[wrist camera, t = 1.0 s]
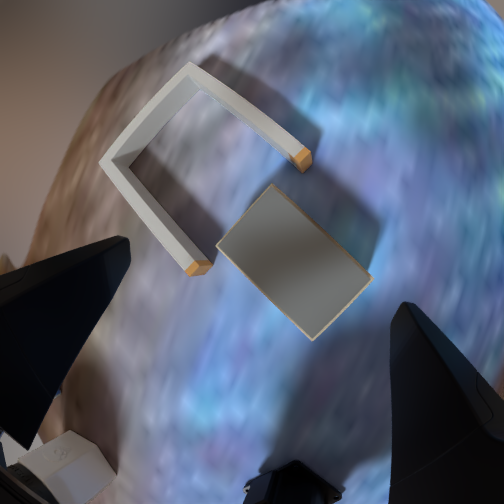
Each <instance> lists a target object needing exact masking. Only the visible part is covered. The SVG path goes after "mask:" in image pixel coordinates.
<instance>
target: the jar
mask: <svg viewBox="0 0 504 504" xmlns="http://www.w3.org/2000/svg"><path fill="white" fill-rule="evenodd" d="M7 470H8V472H9V473H10V474H11V475H12V476H13V477H15V478H16V479H17V480H18V481H20V482H21V483H22V484H24V485H25V486H26V487H27V488H29V489H30V490H31V491H33V492H34V493H36V494H37V495H38V496H40V497H41V498H43V499H44V500H46V501H47V502H48V503H50V504H89V503H90V502H91V501H92V500H94V499H95V498H96V497H97V496H98V495H99V494H101V493H102V492H103V491H104V490H105V489H106V488H107V487H108V486H109V485H110V484H111V482H112V481H113V480H114V479H115V477H116V473H115V472H114V471H113V469H112V468H111V466H110V465H109V463H108V462H107V460H106V459H105V457H104V456H103V454H102V452H101V451H100V449H99V448H98V446H97V445H96V444H94V443H92V442H90V441H89V440H87V439H85V438H83V437H82V436H80V435H78V434H76V433H75V432H73V431H71V430H69V431H67V432H65V433H63V434H62V435H60V436H58V437H56V438H55V439H53V440H51V441H49V442H48V443H46V444H44V445H42V446H40V447H39V448H37V449H35V450H33V451H31V452H29V453H27V454H26V455H24V456H22V457H20V458H18V463H16V464H14V465H10V466H8V467H7Z"/></svg>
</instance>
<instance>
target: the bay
mask: <svg viewBox="0 0 504 504" xmlns="http://www.w3.org/2000/svg"><path fill="white" fill-rule="evenodd" d="M199 90H202V91H203V92H204V93H206V94H207V95H208V96H210V97H211V98H212V99H214V100H215V101H216V102H218V103H219V104H220V105H222V106H223V107H224V108H225V109H227V110H228V111H229V112H231V113H232V114H233V115H234V116H236V117H237V118H238V119H239V120H241V121H242V122H243V123H244V124H246V125H247V126H248V127H249V128H250V129H252V130H253V131H254V132H255V133H257V134H258V135H259V136H260V137H261V138H263V139H264V140H265V141H266V142H267V143H269V144H270V145H271V146H272V147H273V148H274V149H276V150H277V151H278V152H279V153H280V154H281V155H282V156H284V157H285V158H286V159H287V160H288V161H289V162H290V163H292V164H293V165H294V166H295V167H296V168H297V169H298V170H299V171H300V172H302V173H304V172H305V171H306V170H307V169H308V168H309V167H310V166H311V165H312V164H313V163H312V157H311V151H309V150H308V149H307V148H306V147H305V146H304V145H302V144H301V143H300V142H299V141H298V140H296V139H295V138H294V137H293V136H292V135H290V134H289V133H288V132H287V131H286V130H284V129H283V128H282V127H281V126H279V125H278V124H277V123H276V122H274V121H273V120H272V119H271V118H269V117H268V116H267V115H265V114H264V113H263V112H261V111H260V110H259V109H258V108H256V107H255V106H254V105H252V104H251V103H250V102H248V101H247V100H246V99H244V98H243V97H241V96H240V95H239V94H237V93H236V92H235V91H233V90H232V89H230V88H229V87H227V86H226V85H225V84H223V83H222V82H220V81H219V80H217V79H216V78H214V77H213V76H211V75H210V74H208V73H207V72H205V71H204V70H202V69H201V68H199V67H198V66H196V65H195V64H193V63H192V62H190V61H189V62H188V63H187V64H186V65H185V66H184V67H183V68H182V69H181V70H180V71H179V72H178V73H177V74H175V75H174V76H173V77H172V78H171V79H170V80H169V81H168V82H167V83H166V84H165V85H164V86H163V87H162V88H161V90H160V91H159V92H158V93H157V94H156V95H155V96H154V97H153V98H152V99H151V100H150V101H149V102H148V103H147V104H146V106H145V107H144V108H143V109H142V110H141V111H140V112H139V113H138V114H137V116H136V117H135V118H134V119H133V120H132V121H131V123H130V124H129V125H128V126H127V127H126V128H125V130H124V131H123V132H122V133H121V134H120V136H119V137H118V138H117V139H116V141H115V142H114V143H113V144H112V146H111V147H110V148H109V150H108V151H107V152H106V153H105V155H104V156H103V157H102V159H101V160H100V161H99V164H100V166H101V167H102V168H103V170H104V171H105V172H106V174H107V175H108V176H109V178H110V179H111V180H112V182H113V183H114V184H115V186H116V187H117V188H118V190H119V191H120V192H121V194H122V195H123V196H124V197H125V199H126V200H127V201H128V203H129V204H130V205H131V206H132V208H133V209H134V210H135V211H136V213H137V214H138V215H139V217H140V218H141V219H142V220H143V222H144V223H145V224H146V225H147V227H148V228H149V229H150V230H151V231H152V233H153V234H154V235H155V236H156V238H157V239H158V240H159V241H160V242H161V244H162V245H163V246H164V247H165V248H166V250H167V251H168V252H169V253H170V254H171V256H172V257H173V258H174V259H175V260H176V262H177V263H178V264H179V265H180V266H181V267H182V269H183V270H184V271H185V272H186V273H187V274H188V276H189V277H191V276H198V275H204V274H205V273H206V272H207V271H208V270H209V269H210V268H211V267H212V266H213V264H212V263H211V262H210V261H209V260H208V259H207V257H206V256H205V255H204V254H203V253H202V252H201V251H200V250H199V249H198V247H197V246H196V245H195V244H194V243H193V242H192V241H191V240H190V238H189V237H188V236H187V235H186V234H185V233H184V232H183V230H182V229H181V228H180V227H179V226H178V225H177V224H176V223H175V221H174V220H173V219H172V218H171V217H170V216H169V214H168V213H167V212H166V211H165V210H164V209H163V208H162V206H161V205H160V204H159V203H158V202H157V201H156V199H155V198H154V197H153V196H152V195H151V194H150V192H149V191H148V190H147V189H146V188H145V187H144V185H143V184H142V183H141V182H140V181H139V179H138V178H137V177H136V176H135V175H134V173H133V172H132V171H131V170H130V169H129V166H130V165H131V164H132V163H133V161H134V160H135V159H136V158H137V157H138V155H139V154H140V153H141V152H142V151H143V149H144V148H145V147H146V146H147V145H148V144H149V142H150V141H151V140H152V139H153V138H154V137H155V136H156V135H157V133H158V132H159V131H160V130H161V129H162V128H163V127H164V126H165V125H166V123H167V122H168V121H169V120H170V119H171V118H172V117H173V116H174V115H175V114H176V113H177V112H178V111H179V110H180V109H181V108H182V107H183V106H184V105H185V104H186V103H187V101H188V100H189V99H190V98H191V97H192V96H194V95H195V94H196V93H197V92H198V91H199Z"/></svg>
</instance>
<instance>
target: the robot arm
mask: <svg viewBox="0 0 504 504" xmlns="http://www.w3.org/2000/svg"><path fill="white" fill-rule="evenodd" d="M130 263H131V252H130V241H129V239H128V238H127V237H123V236H119V235H117V236H114V237H110V238H107V239H104V240H101V241H98V242H95V243H92V244H89V245H86V246H82V247H79V248H76V249H74V250H71V251H68V252H65V253H62V254H59V255H56V256H53V257H50V258H47V259H45V260H42V261H39V262H36V263H33V264H31V265H28V266H25V267H22V268H20V269H17V270H14V271H11V272H9V273H6V274H2V275H0V438H1V436H2V435H3V433H4V432H5V433H6V434H7V435H8V436H10V437H11V438H12V439H13V440H15V441H16V442H17V443H18V444H20V445H21V446H22V447H23V448H25V449H26V450H27V451H28V450H29V449H30V447H31V445H32V442H33V440H34V438H35V436H36V434H37V432H38V429H39V427H40V425H41V423H42V421H43V419H44V417H45V415H46V413H47V411H48V409H49V407H50V405H51V403H52V401H53V399H54V397H55V395H56V393H57V391H58V390H59V388H60V386H61V384H62V382H63V380H64V378H65V377H66V375H67V373H68V371H69V369H70V368H71V366H72V364H73V362H74V361H75V359H76V357H77V355H78V354H79V352H80V350H81V349H82V347H83V345H84V344H85V342H86V340H87V339H88V337H89V335H90V334H91V332H92V330H93V329H94V327H95V326H96V324H97V322H98V321H99V319H100V318H101V316H102V314H103V313H104V311H105V310H106V308H107V307H108V305H109V303H110V302H111V300H112V298H113V296H114V295H115V293H116V291H117V289H118V287H119V285H120V283H121V281H122V279H123V277H124V275H125V273H126V272H127V270H128V268H129V266H130ZM390 381H391V402H392V459H391V479H390V491H389V502H388V504H504V400H503V399H502V398H501V397H500V396H499V395H498V394H497V393H496V392H495V391H494V389H493V388H492V387H491V386H490V385H489V384H488V383H487V381H486V380H485V379H484V378H483V377H482V376H481V374H480V373H479V372H477V370H476V369H475V368H474V366H473V365H472V364H471V363H470V362H469V361H468V360H467V358H466V357H465V356H464V355H463V354H462V353H461V352H460V351H459V350H458V348H457V347H456V346H455V345H454V344H453V343H452V342H451V341H450V340H449V339H448V338H447V337H446V335H445V334H444V333H443V332H442V331H441V330H440V329H439V328H438V327H437V326H436V325H435V324H434V323H433V322H432V321H431V320H430V319H429V318H428V317H427V316H426V315H425V313H424V312H423V311H422V310H421V309H420V308H419V307H418V306H417V305H416V304H414V303H411V302H406V301H404V302H402V303H401V305H400V306H399V308H398V310H397V312H396V314H395V315H394V317H393V319H392V321H391V326H390ZM294 465H297V466H298V467H295V466H294ZM248 489H249V490H248ZM243 492H244V493H245V494H247V495H246V497H245V500H244V502H243V504H333V503H335V502H337V501H339V500H341V498H342V494H341V493H340V492H339V491H338V490H336V489H335V488H334V487H332V486H331V485H330V484H328V483H327V482H326V481H324V480H323V479H322V478H320V477H319V476H318V475H316V474H315V473H314V472H313V471H311V470H310V469H309V468H308V467H306V466H305V465H304V464H303V463H301V462H300V461H292V462H290V463H289V464H287V465H285V466H283V467H281V468H279V469H278V470H273V471H271V472H269V473H267V474H265V475H263V476H261V477H259V478H257V479H255V480H253V481H252V483H250V484H248V485H245V486H244V488H243ZM335 496H338V497H335ZM0 504H50V503H48V502H47V501H46V500H44V499H43V498H41V497H40V496H38V495H37V494H36V493H34V492H33V491H31V490H30V489H29V488H27V487H26V486H25V485H24V484H22V483H21V482H20V481H18V480H17V479H16V478H15V477H13V476H12V475H11V474H10V473H9V472H8V470H7V466H6V462H5V457H4V452H3V447H2V443H1V442H0Z"/></svg>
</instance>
